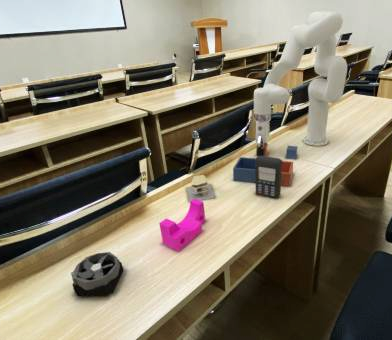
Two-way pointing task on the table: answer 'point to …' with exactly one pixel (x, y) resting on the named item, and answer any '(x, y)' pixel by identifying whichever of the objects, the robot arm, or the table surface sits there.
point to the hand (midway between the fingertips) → (261, 152)
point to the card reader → (268, 176)
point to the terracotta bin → (286, 173)
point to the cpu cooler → (97, 275)
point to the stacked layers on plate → (200, 189)
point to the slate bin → (244, 170)
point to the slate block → (291, 152)
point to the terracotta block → (264, 149)
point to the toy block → (183, 227)
